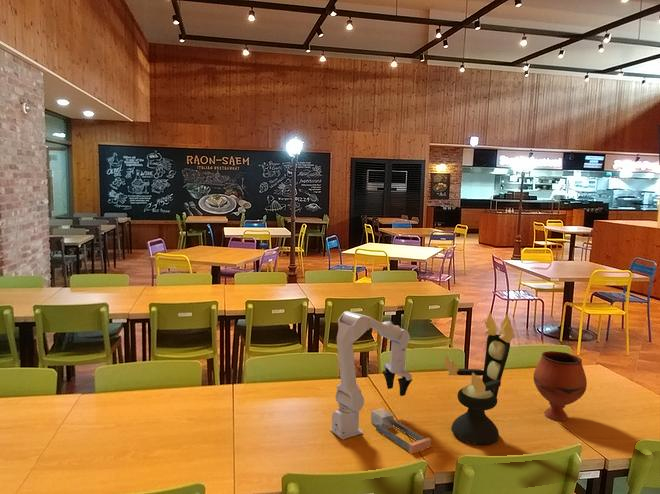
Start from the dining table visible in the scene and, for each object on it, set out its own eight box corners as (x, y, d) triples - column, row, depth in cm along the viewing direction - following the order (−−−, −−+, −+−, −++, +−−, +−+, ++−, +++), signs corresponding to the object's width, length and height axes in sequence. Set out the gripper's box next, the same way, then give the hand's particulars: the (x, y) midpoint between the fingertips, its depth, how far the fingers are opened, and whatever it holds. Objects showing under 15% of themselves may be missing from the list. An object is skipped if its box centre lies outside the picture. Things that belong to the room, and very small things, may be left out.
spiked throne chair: (438, 426, 193) (445, 309, 188) (487, 418, 201) (495, 306, 196) (468, 451, 176) (477, 323, 170) (520, 441, 184) (530, 319, 178)
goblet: (589, 430, 194) (595, 367, 191) (535, 424, 197) (540, 362, 194) (575, 409, 212) (581, 351, 209) (526, 403, 216) (531, 346, 213)
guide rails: (411, 454, 173) (412, 445, 172) (376, 429, 189) (376, 422, 188) (430, 447, 177) (431, 439, 177) (394, 424, 194) (394, 416, 193)
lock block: (382, 430, 189) (383, 418, 188) (370, 423, 194) (371, 410, 194) (392, 427, 191) (393, 414, 191) (381, 420, 197) (381, 407, 196)
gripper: (418, 362, 195) (416, 396, 197) (394, 351, 207) (392, 383, 209) (404, 365, 191) (402, 400, 193) (380, 354, 203) (378, 386, 205)
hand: (396, 391), depth 201 cm, fingers open, 7 cm apart
